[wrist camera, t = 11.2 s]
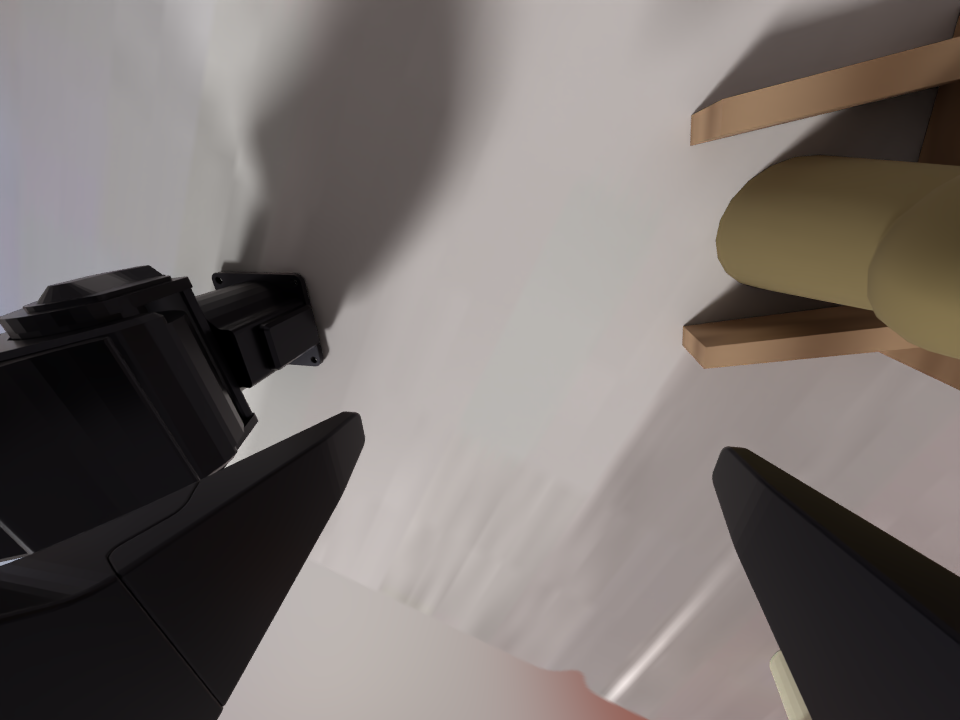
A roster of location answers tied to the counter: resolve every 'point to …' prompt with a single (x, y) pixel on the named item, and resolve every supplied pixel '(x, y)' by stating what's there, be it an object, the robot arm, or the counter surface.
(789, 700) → the reusable coffee cup
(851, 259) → the cork
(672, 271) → the counter surface
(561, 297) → the counter surface
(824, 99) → the post bracket
